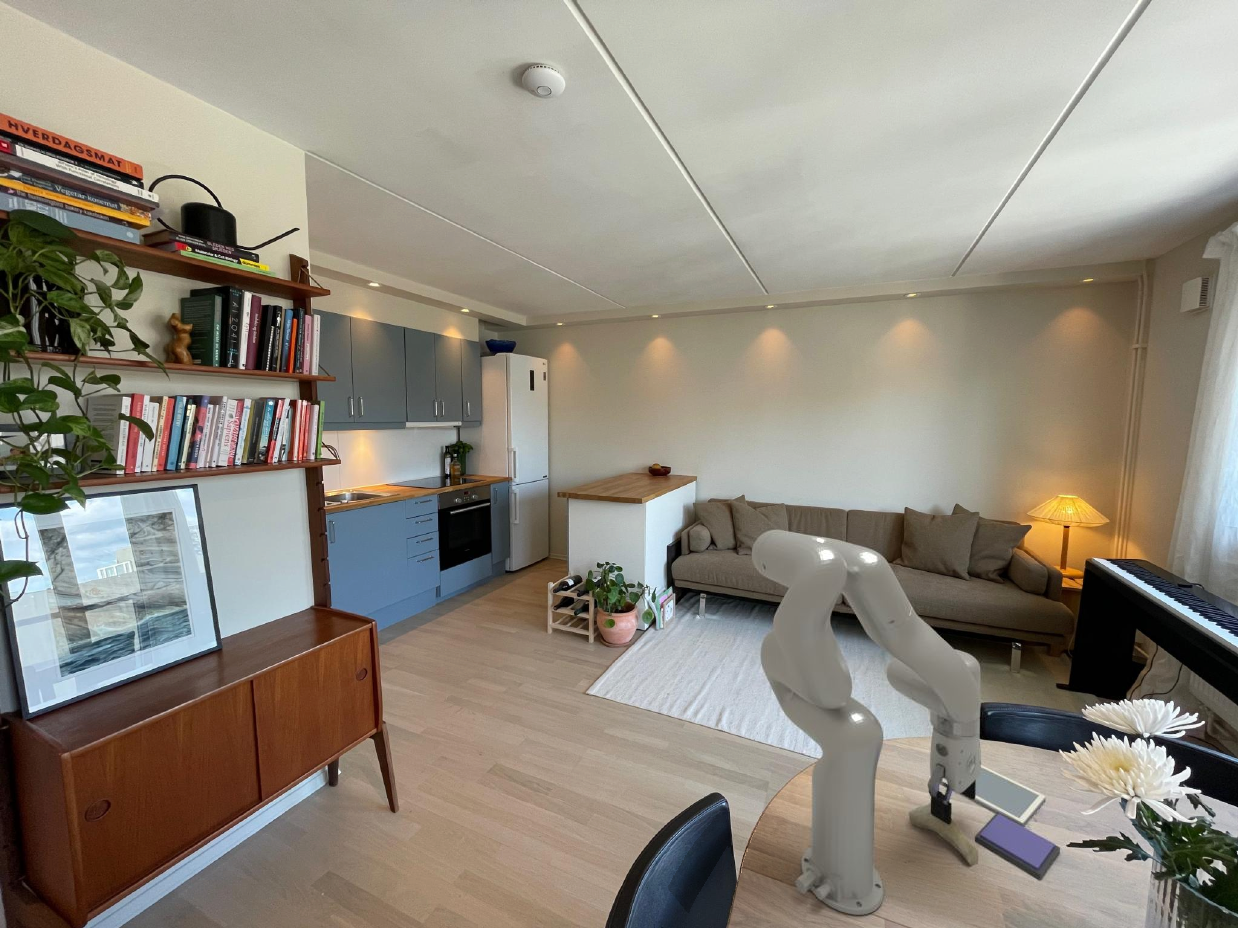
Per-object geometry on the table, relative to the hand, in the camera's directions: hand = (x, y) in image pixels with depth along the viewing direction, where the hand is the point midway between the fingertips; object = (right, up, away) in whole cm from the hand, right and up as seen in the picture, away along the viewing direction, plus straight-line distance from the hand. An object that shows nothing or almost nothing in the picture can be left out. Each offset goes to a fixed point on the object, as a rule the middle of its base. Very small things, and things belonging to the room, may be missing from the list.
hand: (953, 806), depth 91 cm
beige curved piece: (-2, -6, -1) cm, 7 cm away
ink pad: (+10, -5, -3) cm, 11 cm away
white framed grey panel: (+16, -4, +10) cm, 19 cm away
